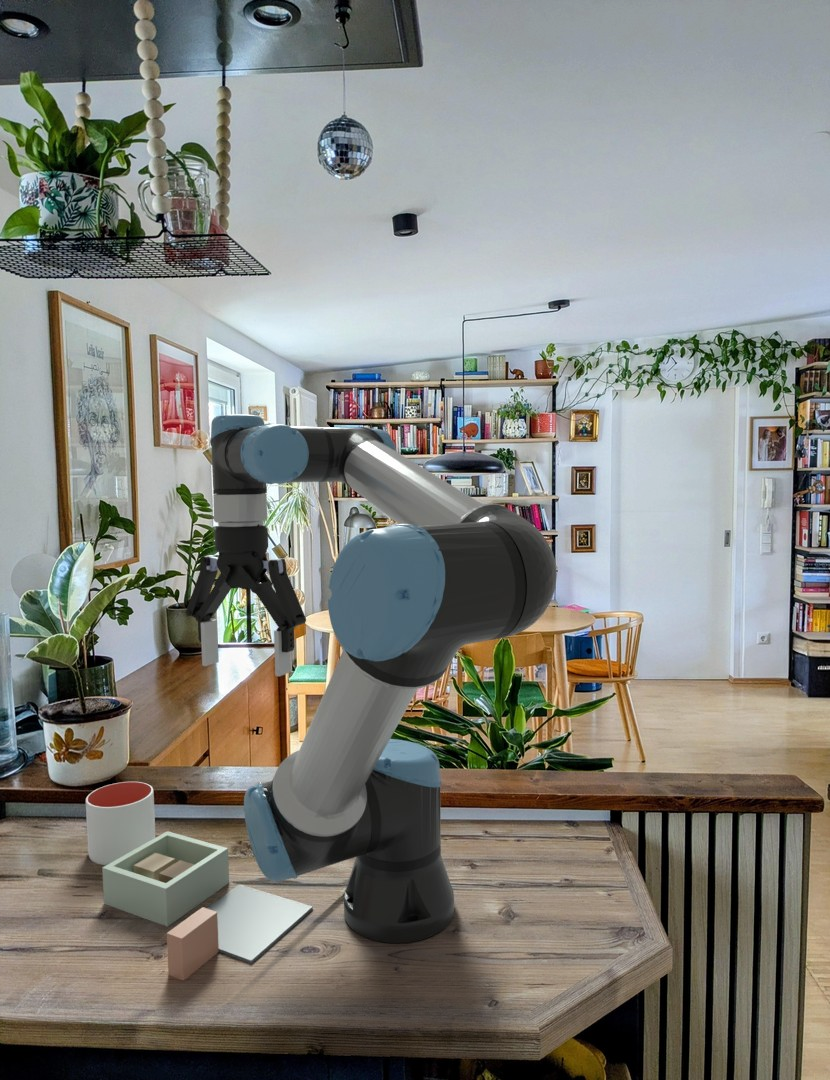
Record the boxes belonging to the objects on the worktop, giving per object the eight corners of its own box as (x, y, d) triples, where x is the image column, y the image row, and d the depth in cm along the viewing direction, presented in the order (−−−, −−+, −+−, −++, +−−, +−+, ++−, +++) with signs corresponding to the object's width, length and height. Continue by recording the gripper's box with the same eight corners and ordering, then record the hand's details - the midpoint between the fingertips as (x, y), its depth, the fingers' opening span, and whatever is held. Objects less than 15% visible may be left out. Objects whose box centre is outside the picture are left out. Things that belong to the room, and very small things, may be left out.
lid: (312, 916, 103) (311, 872, 103) (217, 1002, 87) (215, 951, 86) (239, 893, 109) (238, 852, 109) (137, 969, 93) (135, 921, 92)
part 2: (202, 893, 108) (200, 866, 107) (181, 907, 104) (180, 880, 104) (181, 886, 109) (179, 860, 109) (160, 900, 106) (158, 873, 106)
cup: (133, 873, 115) (130, 810, 114) (74, 867, 117) (71, 805, 116) (167, 842, 125) (165, 783, 124) (113, 837, 127) (110, 779, 126)
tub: (229, 887, 111) (228, 848, 110) (167, 932, 100) (165, 888, 99) (169, 868, 116) (167, 831, 116) (104, 908, 106) (102, 867, 105)
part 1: (175, 885, 110) (174, 858, 110) (154, 898, 106) (153, 871, 106) (155, 878, 112) (154, 852, 111) (134, 891, 108) (133, 865, 108)
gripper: (328, 524, 106) (331, 672, 108) (194, 520, 118) (199, 654, 120) (296, 527, 100) (300, 685, 102) (158, 523, 111) (164, 665, 113)
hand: (245, 669), depth 111 cm, fingers open, 13 cm apart
